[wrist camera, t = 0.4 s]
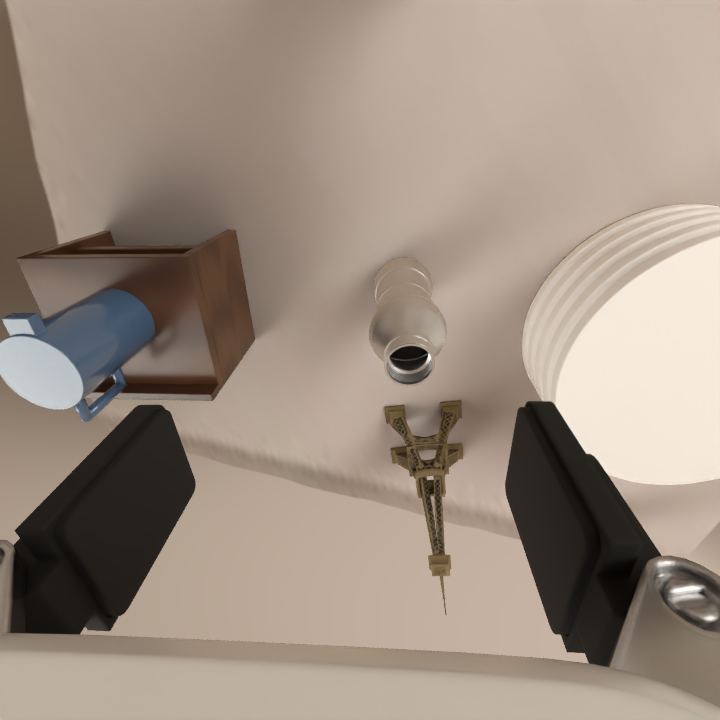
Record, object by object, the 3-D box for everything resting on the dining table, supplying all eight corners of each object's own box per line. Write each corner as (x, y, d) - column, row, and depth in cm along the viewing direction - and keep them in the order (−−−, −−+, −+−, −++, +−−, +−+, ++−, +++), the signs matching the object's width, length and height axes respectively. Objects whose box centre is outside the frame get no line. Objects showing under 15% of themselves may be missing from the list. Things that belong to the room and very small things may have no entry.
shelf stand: (102, 231, 45) (-3, 263, 33) (235, 229, 44) (177, 262, 32) (139, 338, 52) (63, 397, 40) (255, 339, 51) (213, 401, 39)
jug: (72, 275, 35) (-33, 319, 26) (140, 275, 35) (55, 319, 26) (111, 371, 40) (33, 435, 31) (170, 372, 40) (108, 437, 31)
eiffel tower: (462, 457, 58) (505, 645, 36) (392, 461, 60) (393, 644, 38) (460, 400, 53) (508, 579, 31) (384, 406, 55) (380, 581, 33)
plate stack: (570, 449, 56) (609, 516, 46) (482, 298, 46) (507, 341, 36) (800, 358, 47) (911, 416, 37) (754, 141, 36) (891, 141, 26)
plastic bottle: (363, 271, 45) (346, 352, 28) (414, 241, 43) (431, 308, 26) (390, 315, 48) (390, 414, 30) (440, 289, 46) (471, 379, 28)
